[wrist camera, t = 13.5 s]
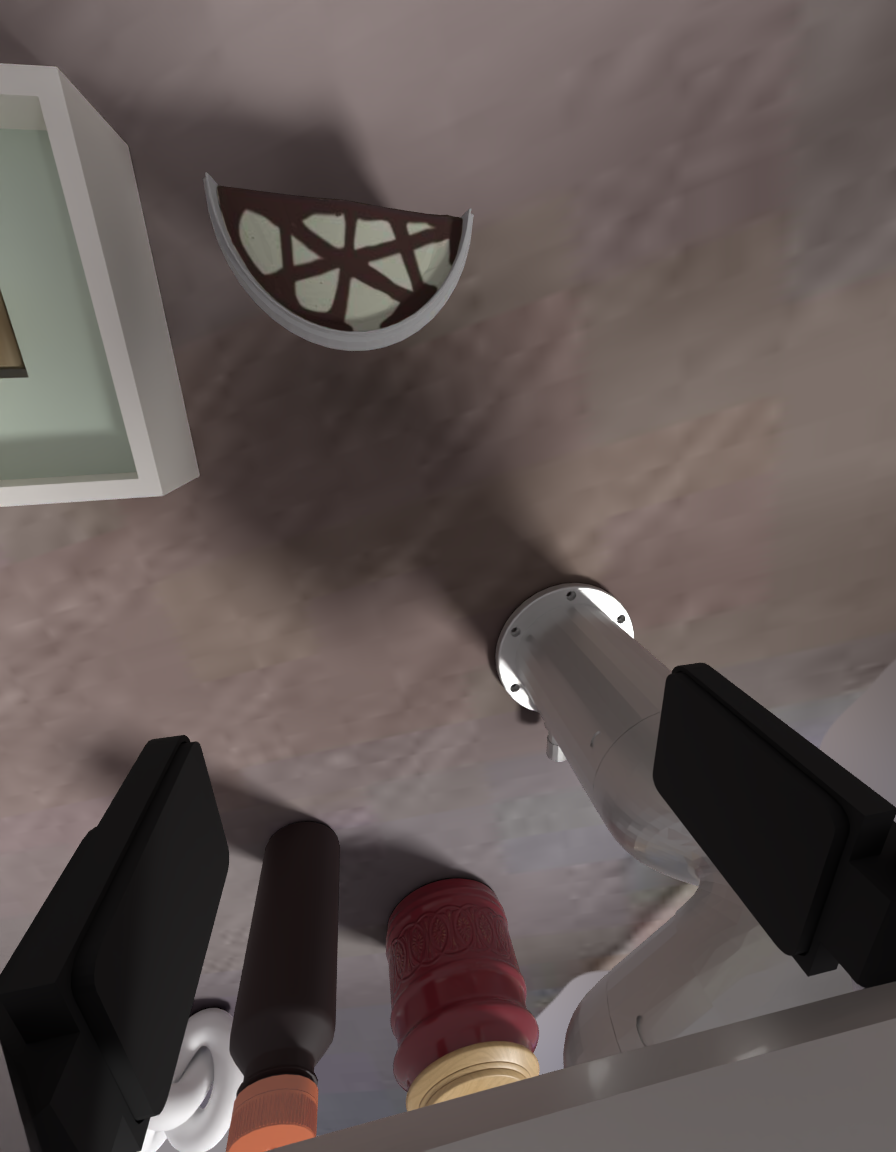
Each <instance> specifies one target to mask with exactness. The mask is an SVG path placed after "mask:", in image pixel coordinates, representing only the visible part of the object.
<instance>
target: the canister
mask: <svg viewBox="0 0 896 1152" xmlns="http://www.w3.org/2000/svg"><path fill="white" fill-rule="evenodd" d="M386 956H387V960H388V963H389V977H390V993H391V1008H392V1012H391V1019H390V1021H391V1029H392V1032H393V1034H394V1036H395V1037H396V1039H397V1041H398V1050H397V1052H396V1055H395V1058H394V1063H393V1072H394V1076H395V1079H396V1081H397V1082H398V1084H399V1085H400V1086H401V1087H402V1089H404V1090H405V1091H406V1092H408V1093H407V1097H406V1108H407V1112H408V1111H411V1110H415V1109H418V1108H422V1107H426V1106H429V1105H433V1104H436V1103H440V1102H444V1101H447V1100H451V1099H455V1098H458V1097H462V1096H465V1095H469V1094H473V1093H476V1092H480V1091H483V1090H487V1089H491V1088H494V1087H498V1086H502V1085H505V1084H509V1083H513V1082H516V1081H520V1080H524V1079H528V1078H531V1077H535V1076H539V1063H538V1060H537V1058H536V1057H535V1055H534V1054H533V1052H534V1051H535V1048H536V1046H537V1043H538V1038H539V1028H538V1024H537V1022H536V1019H535V1018H534V1016H533V1015H532V1014H531V1013H530V1012H529V1011H528V1010H527V1008H526V1004H525V1000H526V984H525V980H524V978H523V976H522V975H521V973H520V970H519V966H518V963H517V960H516V956H515V953H514V949H513V946H512V942H511V939H510V936H509V932H508V924H507V919H506V916H505V913H504V910H503V907H502V905H501V904H500V902H499V901H498V898H497V896H496V895H495V893H494V892H493V891H492V890H491V889H490V888H489V887H488V886H486V885H484V884H482V883H480V882H478V881H474V880H470V879H462V878H455V879H445V880H440V881H436V882H433V883H430V884H427V885H425V886H423V887H421V888H419V889H417V890H415V891H413V892H412V893H410V894H409V895H408V896H406V897H405V898H404V899H403V900H402V901H401V902H400V903H399V904H398V905H397V906H396V908H395V909H394V911H393V912H392V914H391V916H390V918H389V921H388V927H387V935H386Z"/></svg>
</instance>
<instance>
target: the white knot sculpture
mask: <svg viewBox="0 0 896 1152" xmlns="http://www.w3.org/2000/svg"><path fill="white" fill-rule="evenodd" d="M233 1018H234V1017H233V1016H232V1015H230V1014H229V1013H228V1012H227V1011H225V1010H222V1009H219V1008H207V1009H204V1010H201V1011H199V1012H197V1013H196V1014H194V1015H192V1016H191V1017H190V1018H189V1019H188V1023H187V1027H186V1031H185V1035H184V1038H183V1042H182V1046H181V1050H180V1053H179V1057H178V1061H177V1065H176V1069H175V1072H174V1076H173V1080H172V1084H171V1087H170V1091H169V1095H168V1098H167V1101H166V1104H165V1106H164V1108H163V1111H162V1112H161V1113H160V1115H157V1116H154V1117H151V1118H150V1121H149V1125H148V1128H147V1132H146V1135H145V1139H144V1143H143V1146H142V1150H141V1151H139V1152H156V1151H157V1149H158V1148H159V1147H160V1146H161V1145H162V1144H163V1142H164V1141H165V1140H166V1139H168V1141H169V1142H170V1144H171V1145H172V1146H173V1147H174V1148H175V1149H177V1150H178V1151H180V1152H206V1151H208V1150H209V1149H211V1148H213V1147H214V1146H215V1145H216V1144H217V1143H218V1142H219V1141H220V1140H221V1139H222V1138H223V1136H224V1135H225V1133H226V1132H227V1130H228V1129H229V1127H230V1124H231V1118H232V1112H233V1106H234V1101H235V1099H236V1093H237V1090H238V1088H239V1086H240V1085H241V1083H242V1082H243V1079H244V1076H243V1074H242V1073H241V1071H240V1070H239V1069H238V1067H237V1066H236V1064H235V1062H234V1061H233V1059H232V1057H231V1055H230V1051H229V1045H230V1033H231V1028H232V1023H233ZM213 1081H214V1083H213ZM212 1083H213V1089H212V1093H211V1097H210V1100H209V1102H208V1104H207V1105H206V1107H205V1108H204V1109H202V1108H201V1107H200V1106H199V1105H200V1104H201V1103H202V1101H203V1100H204V1098H205V1096H206V1095H207V1093H208V1091H209V1089H210V1087H211V1085H212Z"/></svg>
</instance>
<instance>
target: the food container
mask: <svg viewBox="0 0 896 1152" xmlns="http://www.w3.org/2000/svg"><path fill="white" fill-rule="evenodd" d="M205 175H206V178H203V182H204V189H205V195H206V201H207V206H208V212H209V216H210V219H211V222H212V226H213V229H214V232H215V236H216V239H217V241H218V244H219V246H220V248H221V250H222V252H223V255H224V257H225V259H226V261H227V263H228V265H229V267H230V268H231V270H232V272H233V273H234V275H235V276H236V278H237V280H238V281H239V283H240V284H241V286H242V287H243V288H244V289H245V291H246V292H247V293H248V294H249V296H250V297H251V298H252V299H253V301H254V302H255V303H256V304H257V305H258V306H259V307H260V308H261V309H262V310H263V311H264V312H266V313H267V314H268V315H269V316H270V317H271V318H272V319H273V320H275V321H276V322H277V323H279V324H280V325H282V326H283V327H284V328H286V329H287V330H289V331H290V332H292V333H294V334H296V335H298V336H300V337H302V338H304V339H305V340H307V341H309V342H312V343H315V344H319V345H322V346H325V347H328V348H333V349H339V350H346V351H367V350H373V349H378V348H383V347H387V346H389V345H392V344H395V343H397V342H400V341H402V340H404V339H406V338H408V337H409V336H411V335H413V334H414V333H416V332H418V331H419V330H420V329H421V328H422V327H424V326H425V325H426V324H427V323H428V322H429V321H431V320H432V319H433V318H434V317H435V315H436V314H437V313H438V312H439V311H440V310H441V308H442V307H443V306H444V305H445V304H446V302H447V300H448V299H449V297H450V295H451V294H452V292H453V290H454V289H455V287H456V285H457V283H458V280H459V278H460V275H461V273H462V271H463V268H464V265H465V262H466V258H467V254H468V250H469V246H470V240H471V232H472V224H473V215H474V214H471V209H469V210H468V211H467V212H466V213H465V214H464V215H463V216H462V217H461V218H459V217H453V216H449V215H432V214H424V213H418V212H411V211H404V210H398V209H392V208H385V207H380V206H374V205H369V204H364V203H358V202H353V201H347V200H338V199H326V198H314V197H304V196H295V195H285V194H278V193H270V192H263V191H255V190H247V189H240V188H232V187H224V186H219V185H218V184H217V183H216V182H215V181H214V180H213V178H212V177H211V176H210V175H209V174H208V173H207V172H205Z"/></svg>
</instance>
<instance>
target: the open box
mask: <svg viewBox="0 0 896 1152" xmlns="http://www.w3.org/2000/svg"><path fill="white" fill-rule="evenodd" d="M0 129H23V130H47V132H48V136H49V139H50V143H51V147H52V151H53V155H54V158H55V162H56V166H57V170H58V174H59V177H60V181H61V185H62V189H63V193H64V196H65V200H66V204H67V208H68V212H69V215H70V219H71V223H72V227H73V231H74V234H75V238H76V242H77V246H78V250H79V253H80V257H81V261H82V265H83V269H84V272H85V276H86V280H87V284H88V288H89V291H90V295H91V299H92V303H93V307H94V310H95V314H96V318H97V322H98V326H99V329H100V333H101V337H102V341H103V345H104V348H105V352H106V356H107V360H108V364H109V367H110V371H111V375H112V379H113V383H114V386H115V390H116V394H117V398H118V402H119V405H120V409H121V413H122V417H123V421H124V424H125V428H126V432H127V436H128V440H129V443H130V447H131V451H132V455H133V459H134V462H135V466H136V470H137V472H128V473H111V474H94V475H78V476H61V477H44V478H27V479H11V480H0V507H5V506H20V505H35V504H50V503H65V502H80V501H94V500H109V499H124V498H139V497H154V496H164V495H166V494H168V493H170V492H171V491H173V490H175V489H177V488H179V487H181V486H182V485H184V484H186V483H188V482H190V481H192V480H194V479H195V478H197V477H199V476H200V473H199V469H198V464H197V460H196V455H195V450H194V446H193V441H192V437H191V432H190V427H189V423H188V418H187V414H186V409H185V404H184V400H183V395H182V391H181V386H180V381H179V377H178V372H177V368H176V363H175V359H174V354H173V349H172V345H171V340H170V336H169V331H168V326H167V322H166V317H165V313H164V308H163V303H162V299H161V294H160V290H159V285H158V280H157V276H156V271H155V267H154V262H153V257H152V253H151V248H150V244H149V239H148V234H147V230H146V225H145V221H144V216H143V211H142V207H141V202H140V198H139V193H138V188H137V184H136V179H135V175H134V170H133V166H132V161H131V156H130V152H129V147H128V145H127V144H126V143H125V142H124V141H123V139H122V138H121V137H120V136H119V135H118V134H117V133H116V132H115V131H114V129H113V128H112V127H111V126H110V125H109V124H108V123H107V122H106V121H105V119H104V118H103V117H102V116H101V115H100V114H99V113H98V112H97V111H96V110H95V108H94V107H93V106H92V105H91V104H90V103H89V102H88V101H87V100H86V98H85V97H84V96H83V95H82V94H81V93H80V92H79V91H78V90H77V88H76V87H75V86H74V85H73V84H72V83H71V82H70V81H69V80H68V78H67V77H66V76H65V75H64V74H63V73H62V72H61V71H60V70H59V68H58V67H55V66H38V65H22V64H5V63H0ZM0 378H29V377H28V374H27V370H26V369H0Z"/></svg>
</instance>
